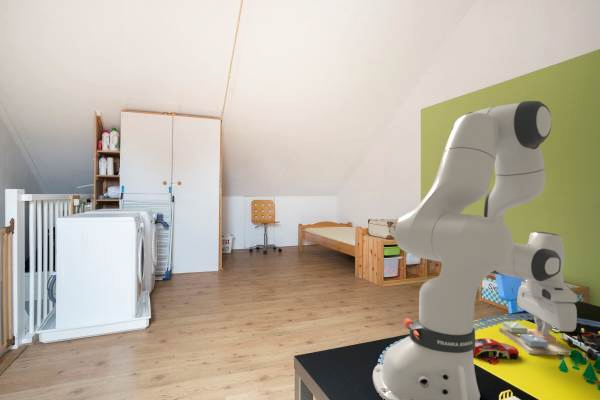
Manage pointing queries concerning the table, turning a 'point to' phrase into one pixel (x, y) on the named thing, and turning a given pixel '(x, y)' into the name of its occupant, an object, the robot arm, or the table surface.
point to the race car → (494, 349)
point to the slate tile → (534, 340)
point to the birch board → (550, 350)
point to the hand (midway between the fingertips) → (542, 333)
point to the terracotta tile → (548, 338)
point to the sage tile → (515, 327)
